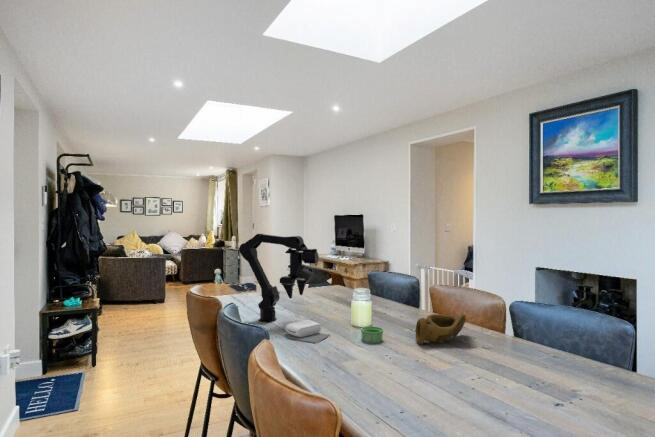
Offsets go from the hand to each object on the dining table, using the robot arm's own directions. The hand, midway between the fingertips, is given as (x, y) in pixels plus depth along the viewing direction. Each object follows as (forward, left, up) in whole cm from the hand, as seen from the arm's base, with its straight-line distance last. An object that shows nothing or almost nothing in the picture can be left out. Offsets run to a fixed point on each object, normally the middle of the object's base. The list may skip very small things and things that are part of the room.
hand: (295, 296), depth 184 cm
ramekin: (+41, -8, -12) cm, 44 cm away
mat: (+17, -17, -12) cm, 27 cm away
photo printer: (+15, -9, -9) cm, 20 cm away
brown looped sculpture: (+66, +5, -12) cm, 68 cm away
